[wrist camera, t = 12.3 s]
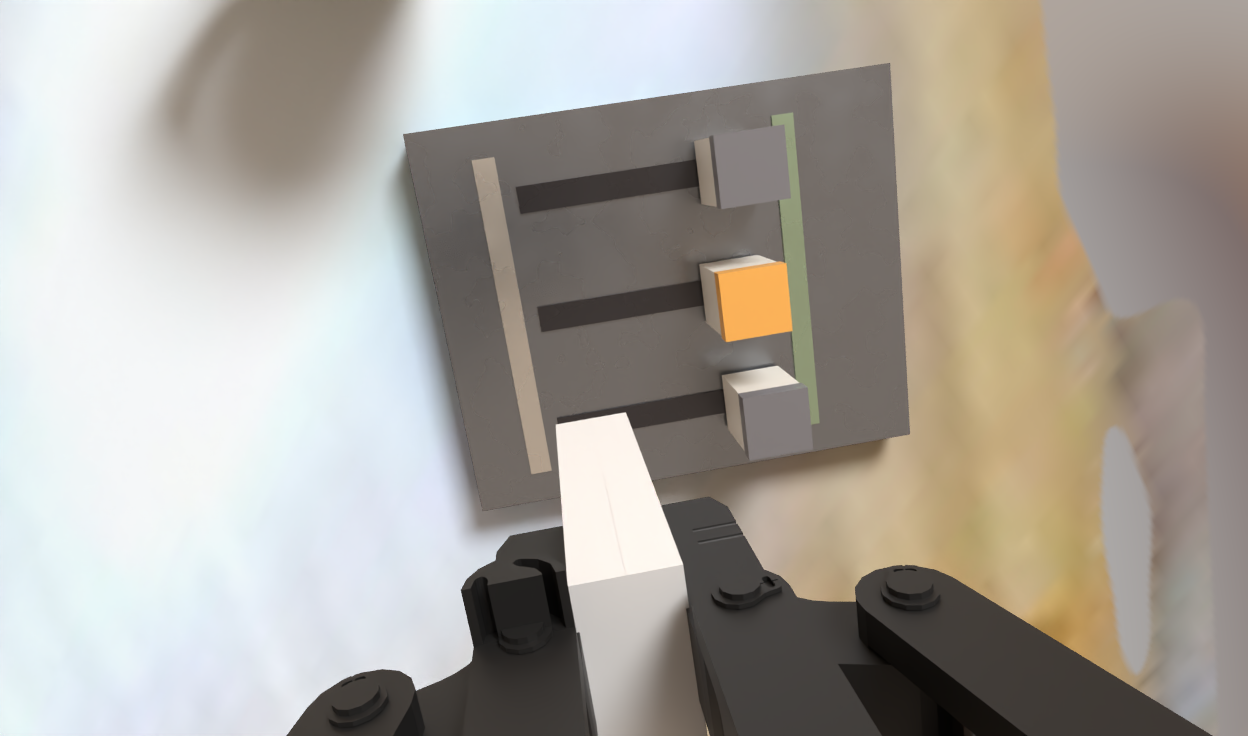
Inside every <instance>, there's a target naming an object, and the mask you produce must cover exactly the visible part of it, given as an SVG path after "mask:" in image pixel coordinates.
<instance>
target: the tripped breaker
mask: <svg viewBox="0 0 1248 736" xmlns="http://www.w3.org/2000/svg"><path fill="white" fill-rule="evenodd" d="M699 266H700V275H701V283H702V291H703V299H704V308H705V316H706V323H707V324H708V325H710V326H711V327H712V328H713V329H714V330H715V331H716V332H718V333H719V334H720V335H721V336H722V339H723V340H724V341H725V342H730V341H736V340H742V339H748V338H754V337H760V336H766V335H771V334H777V333H783V332H789V331H793V330H792V319H791V308H790V297H789V286H788V275H787V265H786V263H784V262H781V261H779V262H776V261H774V260H771V259H768V258H765V257H762V256H760V255H753V256H747V257H741V258H735V259H729V260H723V261H716V262H710V263H704V264H699Z"/></svg>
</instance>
